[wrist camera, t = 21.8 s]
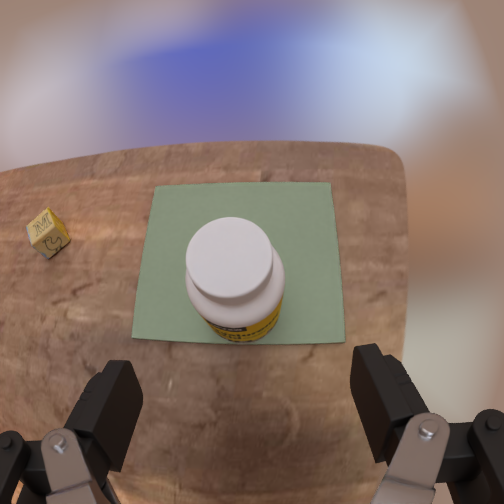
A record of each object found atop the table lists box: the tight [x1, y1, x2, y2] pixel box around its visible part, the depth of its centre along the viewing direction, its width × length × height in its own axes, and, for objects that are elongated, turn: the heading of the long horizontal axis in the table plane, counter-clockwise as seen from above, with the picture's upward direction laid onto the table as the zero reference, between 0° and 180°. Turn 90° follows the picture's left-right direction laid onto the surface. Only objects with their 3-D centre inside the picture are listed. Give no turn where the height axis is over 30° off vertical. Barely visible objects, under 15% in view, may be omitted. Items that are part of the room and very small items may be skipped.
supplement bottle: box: [185, 217, 285, 344], centre depth 19 cm, size 5×5×10 cm
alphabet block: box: [26, 208, 70, 259], centre depth 25 cm, size 3×3×3 cm
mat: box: [131, 182, 345, 345], centre depth 25 cm, size 16×14×1 cm
